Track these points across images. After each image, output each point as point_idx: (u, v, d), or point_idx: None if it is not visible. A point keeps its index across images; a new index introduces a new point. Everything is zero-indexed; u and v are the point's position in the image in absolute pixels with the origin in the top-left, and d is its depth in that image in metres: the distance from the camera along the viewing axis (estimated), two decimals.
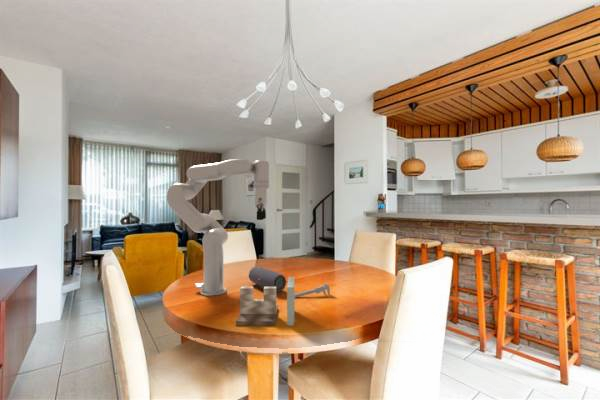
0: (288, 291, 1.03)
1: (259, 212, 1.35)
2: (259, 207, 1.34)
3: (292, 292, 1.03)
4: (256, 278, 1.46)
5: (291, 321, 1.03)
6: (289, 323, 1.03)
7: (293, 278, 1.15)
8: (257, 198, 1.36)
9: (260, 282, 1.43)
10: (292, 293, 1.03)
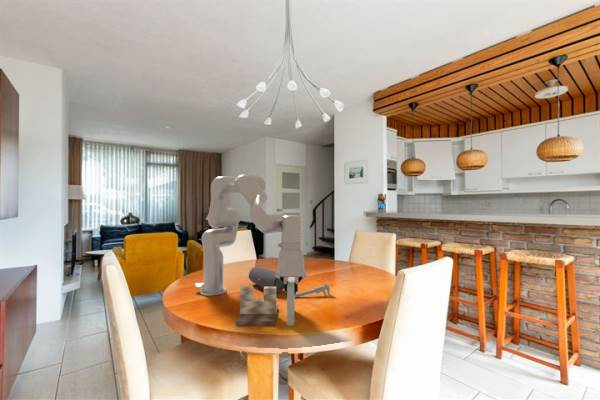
0: (288, 291, 1.03)
1: (297, 284, 1.10)
2: None
3: (292, 292, 1.03)
4: (256, 278, 1.46)
5: (291, 321, 1.03)
6: (289, 323, 1.03)
7: (293, 278, 1.15)
8: None
9: (260, 282, 1.43)
10: (292, 293, 1.03)
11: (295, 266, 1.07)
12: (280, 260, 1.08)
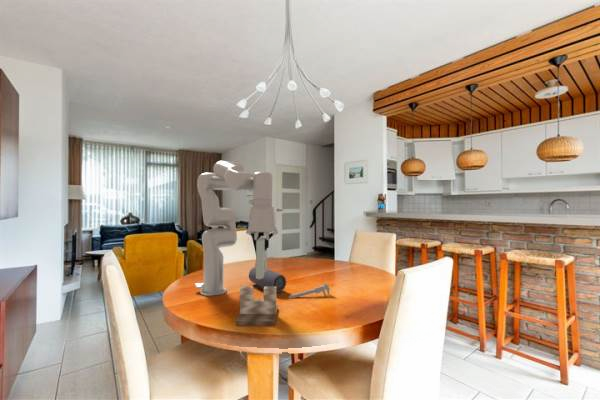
0: (257, 245, 1.04)
1: (268, 240, 1.11)
2: (273, 234, 1.11)
3: (261, 246, 1.04)
4: None
5: (260, 274, 1.04)
6: (258, 276, 1.04)
7: (265, 236, 1.16)
8: (274, 220, 1.10)
9: (260, 282, 1.43)
10: (261, 247, 1.04)
11: (265, 222, 1.08)
12: (251, 216, 1.09)
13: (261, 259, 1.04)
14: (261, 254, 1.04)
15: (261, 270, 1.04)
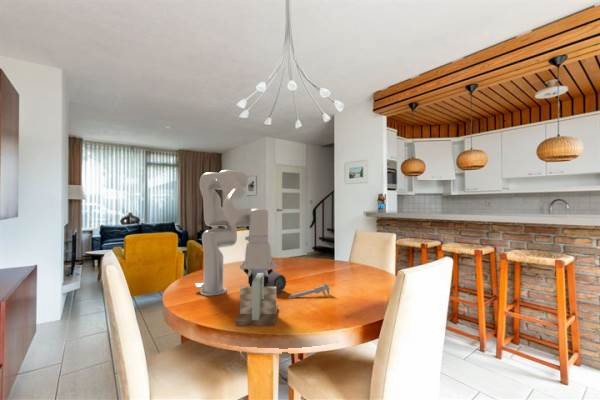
0: (253, 286, 1.04)
1: None
2: None
3: (257, 287, 1.04)
4: None
5: (256, 315, 1.04)
6: (254, 318, 1.04)
7: (262, 274, 1.16)
8: (270, 257, 1.10)
9: None
10: (257, 288, 1.04)
11: (261, 259, 1.08)
12: (247, 253, 1.09)
13: (257, 300, 1.04)
14: (257, 295, 1.04)
15: (257, 311, 1.04)
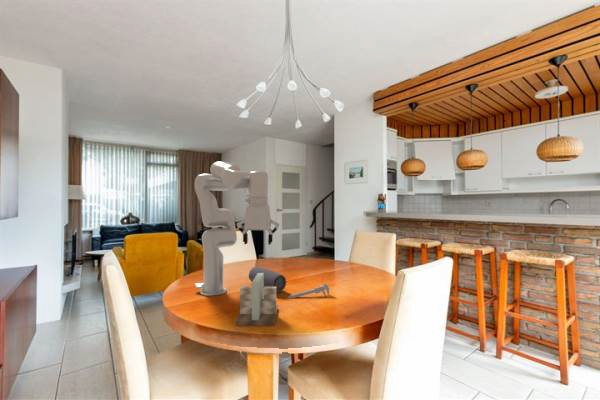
0: (253, 286, 1.04)
1: (272, 235, 1.13)
2: (276, 229, 1.14)
3: (257, 287, 1.04)
4: None
5: (256, 315, 1.04)
6: (254, 318, 1.04)
7: (262, 274, 1.16)
8: (270, 218, 1.12)
9: None
10: (257, 288, 1.04)
11: (261, 220, 1.11)
12: (246, 214, 1.11)
13: (257, 300, 1.04)
14: (257, 295, 1.04)
15: (257, 311, 1.04)
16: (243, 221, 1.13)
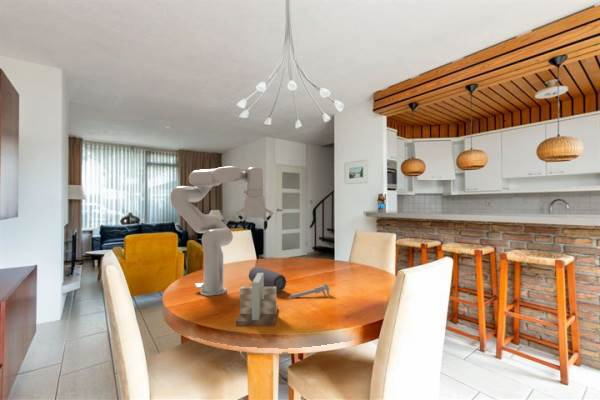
0: (253, 286, 1.04)
1: None
2: None
3: (257, 287, 1.04)
4: None
5: (256, 315, 1.04)
6: (254, 318, 1.04)
7: (262, 274, 1.16)
8: (265, 207, 1.32)
9: None
10: (257, 288, 1.04)
11: (257, 208, 1.31)
12: (245, 204, 1.31)
13: (257, 300, 1.04)
14: (257, 295, 1.04)
15: (257, 311, 1.04)
16: (242, 210, 1.33)
